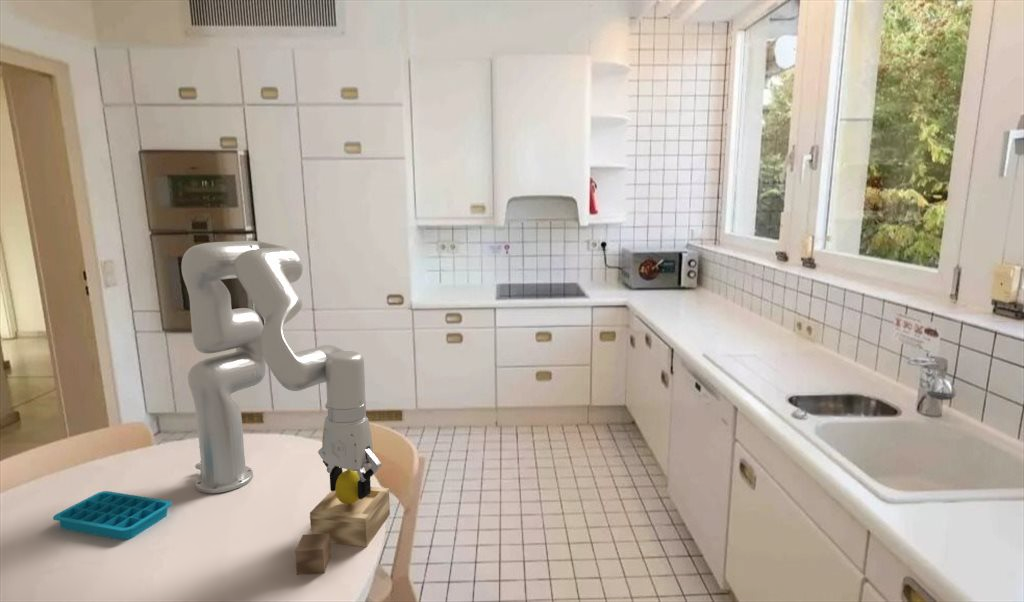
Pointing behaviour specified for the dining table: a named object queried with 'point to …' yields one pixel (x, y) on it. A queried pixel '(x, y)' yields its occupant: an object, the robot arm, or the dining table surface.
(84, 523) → the ice cube tray
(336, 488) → the lemon
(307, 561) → the walnut cube
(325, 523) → the oak tray
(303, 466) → the dining table surface
